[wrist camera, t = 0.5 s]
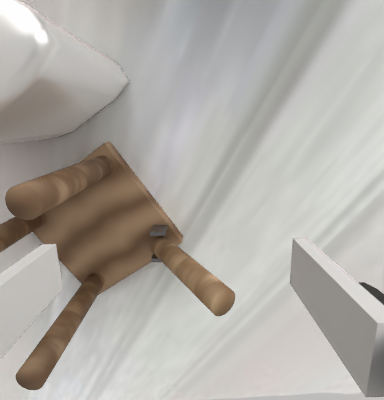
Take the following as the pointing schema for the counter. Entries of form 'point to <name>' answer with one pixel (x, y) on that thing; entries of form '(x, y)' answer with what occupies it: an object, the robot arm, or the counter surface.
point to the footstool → (84, 238)
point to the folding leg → (194, 276)
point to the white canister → (49, 77)
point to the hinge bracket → (158, 231)
